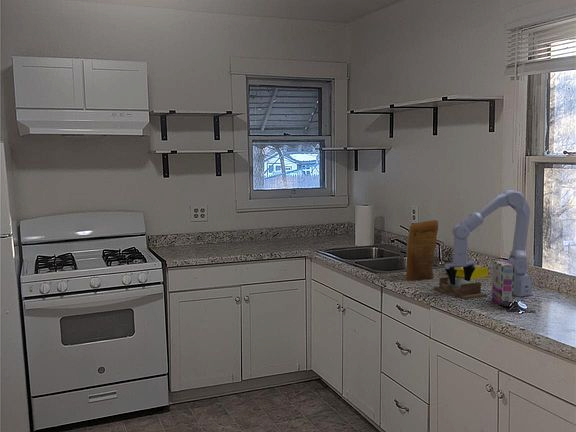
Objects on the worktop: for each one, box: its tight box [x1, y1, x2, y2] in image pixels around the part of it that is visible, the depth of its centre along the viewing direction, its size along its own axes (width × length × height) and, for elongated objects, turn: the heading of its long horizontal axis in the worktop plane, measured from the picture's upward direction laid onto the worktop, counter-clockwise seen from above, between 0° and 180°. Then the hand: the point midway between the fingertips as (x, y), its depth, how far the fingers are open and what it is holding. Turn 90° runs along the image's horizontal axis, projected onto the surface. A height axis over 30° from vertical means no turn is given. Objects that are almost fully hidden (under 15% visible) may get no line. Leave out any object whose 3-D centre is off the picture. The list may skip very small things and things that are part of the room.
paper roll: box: [447, 277, 472, 289], centre depth 246 cm, size 10×5×5 cm, turn 23°
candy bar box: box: [491, 260, 514, 306], centre depth 228 cm, size 11×5×16 cm, turn 178°
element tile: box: [446, 264, 489, 280], centre depth 282 cm, size 15×15×5 cm
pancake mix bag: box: [405, 219, 439, 282], centre depth 272 cm, size 7×19×28 cm, turn 115°
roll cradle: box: [433, 276, 488, 300], centre depth 246 cm, size 20×12×6 cm, turn 22°
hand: (459, 283), depth 246 cm, fingers open, 7 cm apart
